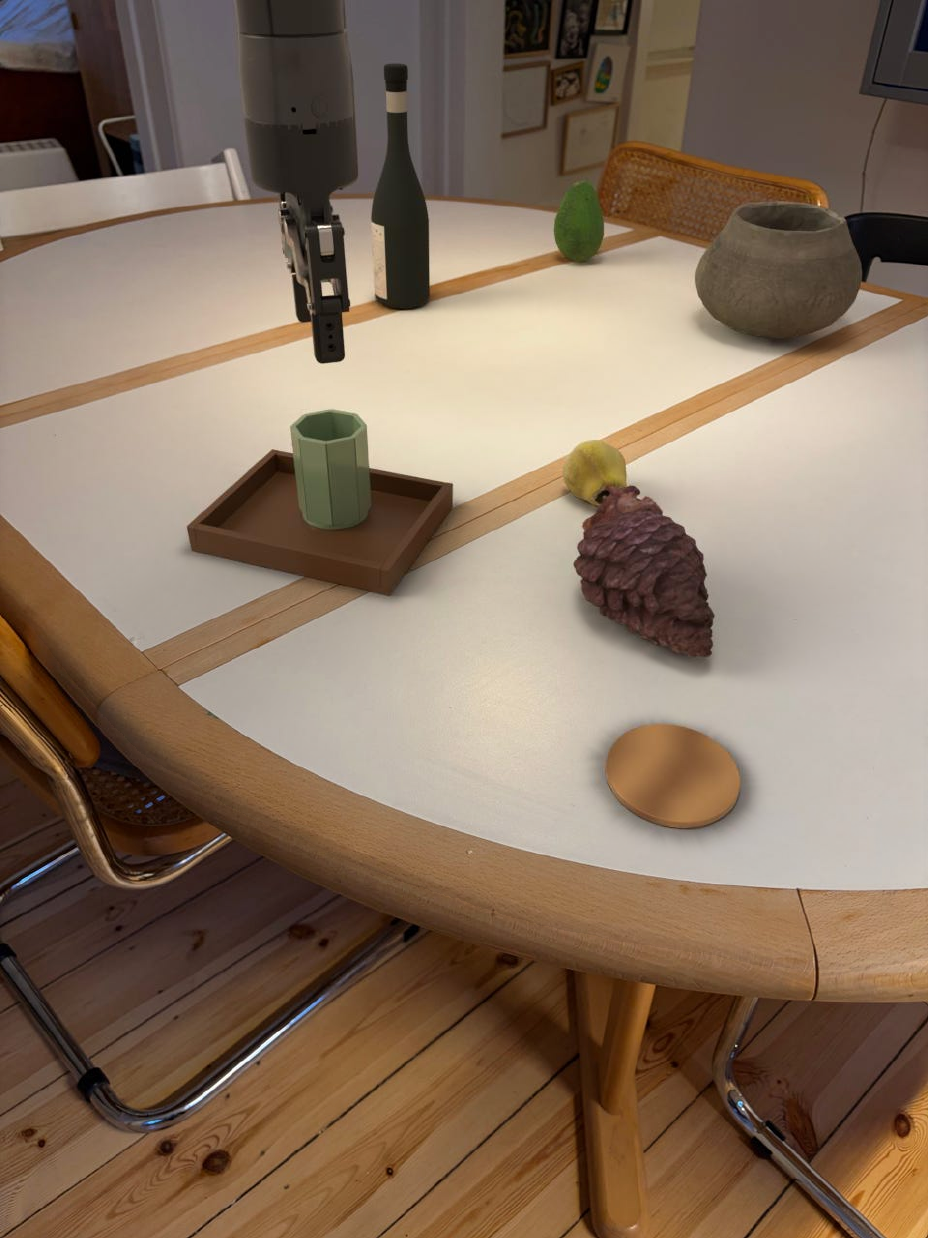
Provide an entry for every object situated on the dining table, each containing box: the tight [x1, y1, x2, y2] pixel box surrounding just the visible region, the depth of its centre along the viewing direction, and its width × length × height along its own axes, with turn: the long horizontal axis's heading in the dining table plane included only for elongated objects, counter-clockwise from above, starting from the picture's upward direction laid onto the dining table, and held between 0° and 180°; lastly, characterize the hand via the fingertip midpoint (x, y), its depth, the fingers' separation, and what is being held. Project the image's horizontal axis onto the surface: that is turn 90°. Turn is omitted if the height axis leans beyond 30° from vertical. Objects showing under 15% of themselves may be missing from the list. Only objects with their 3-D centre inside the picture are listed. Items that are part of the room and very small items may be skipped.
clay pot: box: [694, 200, 863, 339], centre depth 125 cm, size 22×21×15 cm
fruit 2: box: [562, 439, 628, 506], centre depth 91 cm, size 6×6×10 cm
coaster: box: [605, 723, 741, 829], centre depth 64 cm, size 9×9×1 cm
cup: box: [289, 408, 371, 530], centre depth 86 cm, size 6×6×9 cm
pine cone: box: [572, 484, 716, 658], centre depth 75 cm, size 18×10×10 cm
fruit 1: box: [553, 180, 605, 263], centre depth 148 cm, size 8×8×12 cm
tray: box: [186, 448, 454, 596], centre depth 87 cm, size 20×16×3 cm
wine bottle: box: [370, 63, 431, 310], centre depth 127 cm, size 8×8×30 cm
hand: (320, 339), depth 73 cm, fingers open, 8 cm apart
